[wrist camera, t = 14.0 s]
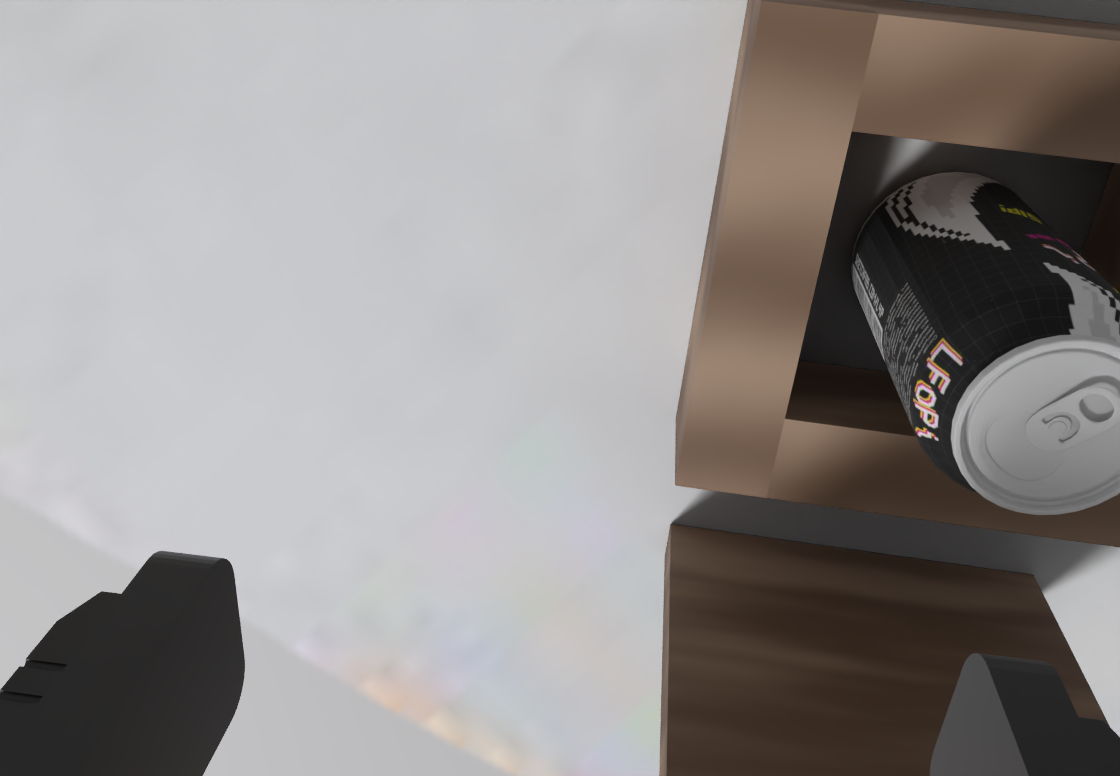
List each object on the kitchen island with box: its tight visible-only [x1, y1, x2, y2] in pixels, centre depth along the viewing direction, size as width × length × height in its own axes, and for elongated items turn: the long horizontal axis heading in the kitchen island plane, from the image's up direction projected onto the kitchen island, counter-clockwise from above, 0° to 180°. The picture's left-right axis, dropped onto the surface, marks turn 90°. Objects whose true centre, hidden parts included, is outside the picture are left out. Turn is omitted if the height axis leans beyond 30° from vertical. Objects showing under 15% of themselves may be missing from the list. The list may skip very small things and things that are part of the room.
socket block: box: [675, 0, 1120, 547], centre depth 30 cm, size 15×15×4 cm
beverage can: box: [851, 172, 1120, 515], centre depth 27 cm, size 6×6×12 cm
